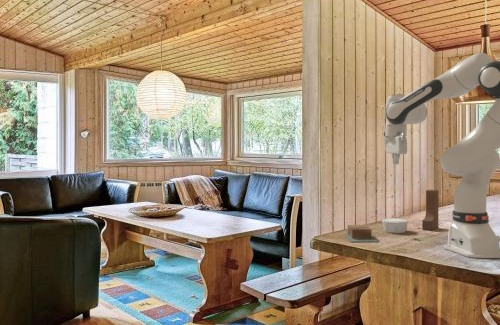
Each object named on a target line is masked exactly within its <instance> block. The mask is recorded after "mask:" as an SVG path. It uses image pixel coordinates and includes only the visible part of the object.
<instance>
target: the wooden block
mask: <svg viewBox="0 0 500 325" xmlns="http://www.w3.org/2000/svg"><path fill="white" fill-rule="evenodd" d="M439 194H440V193H439V190H438V189H427V190H425V216H424V218H423V219H422V220H421V221H422V222H421V224H422V225H421V227H422V228H421V229H422V230H423V231H430V230H431V231H434V230H437V229H438V228H439Z"/></svg>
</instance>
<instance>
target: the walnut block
mask: <svg viewBox="0 0 500 325" xmlns="http://www.w3.org/2000/svg"><path fill="white" fill-rule="evenodd" d="M347 233H348V235H349V236H350V237H351V238H352V239H371V236H372V228H371V227H369V226H368V225H367V224H347Z"/></svg>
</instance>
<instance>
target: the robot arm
mask: <svg viewBox="0 0 500 325" xmlns="http://www.w3.org/2000/svg"><path fill="white" fill-rule="evenodd" d="M478 86H480V87H481V89H482V90H483V91H484V92H486V94H487V95H488V96H489V98H491V99H495V100H494V102H493V104H492V105H491V106H490V108H489V109H488V110H487V112H486V113H485V115H484V116H483V117H482V118H481V120H479V122H478V124H477V125H476V126H475V127H474V129H472V130H471V131H470V132H469V133H468V134H467V135H466V136H464V137H463V138H461V140H459V141H458V142H457V143H455V144H454V145H453V146H451V147H449V148H447V149H445V150H444V151H443V152H442V153H441V155H440V159H439V160H440V161H439V162H440V166H441V168H442V170H443V171H444V172H445V173H448V174H450V175H454V176H461V177H462V178H461V181H460V182H459V184H458V185H457V186H456V187H455V189H454V191H453V210H452V213H451V214H452V215H451V216H452V220H453V221H452V223H451V224H450V225H449V227H448V234H447V236H448V237H447V244H444V247H443V249H446V250H449V251H451V252H454V253H456V254H459V255H462V256H464V257H468V258H476V259H500V235H497V234H496V233H495V232H494V230H493V228H492V227H491V225H490V218H489V217H490V216H489V214H488V212H487V198H488V197H487V195H488V194H487V193H488V188H489V186H490V181H491V178H492V176H493V174H494V172H495V171H496V170H497V169H498V167H499V165H500V154H499V152H498V151H497V149H499V148H500V60H493V57H491V56H490V55H489V54H487V53H485V52H477V53H475V54H474V53H473V55H470V56H468V57H466V58H465V59H463V60H461V61H459V62H458V63H457V64H455V65H454V66H453V67H451V68H449V69H448V70H446V71H445V72H444V73H442V74H441V75H438V76H437V77H435V78H433V79H432V80H431V81H428V82H427V83H424V84H423V85H422V86H419V87H418V88H417V89H415V90H413V91H412V92H410V93H408V94H407V95H405V94H403V93H398V94H397V93H396V94H393V95H390V96H388V97H387V99H386V103H385V115H384V116H385V119H386V122H385V129H384V131H383V138H384V150H385V153H386V154H391V158H392V164H393V165H399V164H400V159H401V155H407V154H408V140H407V135H408V134H407V133H408V132H407V131H408V129H407V127H408V126H407V125H417V124H421V123H423V122H424V121H425V120H426V118H427V115H428V108H427V106H426V104H427V103H428V102H431V101H435V100H442V99H443V100H444V99H454V98H459V97H461V96H463V95H466V94H467V93H470V92H471V91H473V90H474V89H475V88H477V87H478Z"/></svg>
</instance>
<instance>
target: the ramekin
mask: <svg viewBox="0 0 500 325" xmlns="http://www.w3.org/2000/svg"><path fill="white" fill-rule="evenodd" d="M381 222H382V225H383V230H384V232H386V233H389V234H404V233H406V232H407V227H408V223H409V221H408V219H405V218H399V217H398V218H397V217H394V218H392V217H388V218H383V219H382V220H381Z"/></svg>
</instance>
